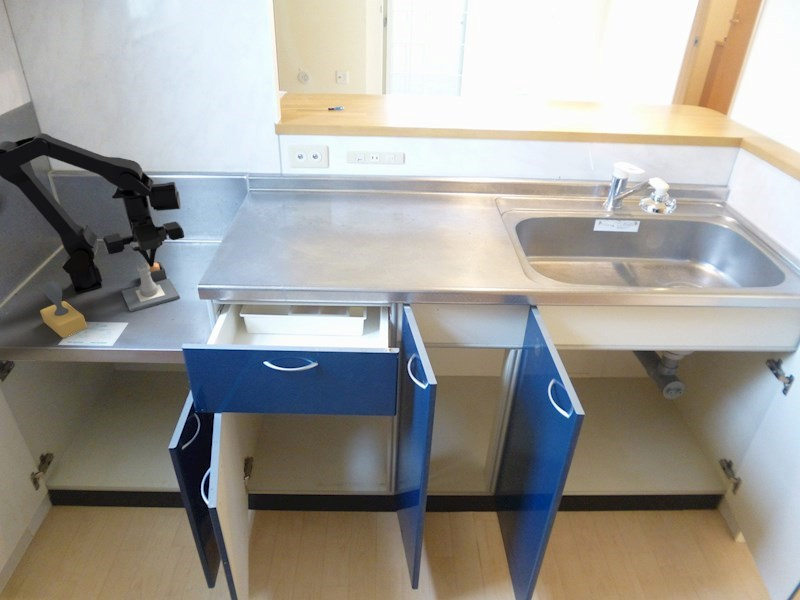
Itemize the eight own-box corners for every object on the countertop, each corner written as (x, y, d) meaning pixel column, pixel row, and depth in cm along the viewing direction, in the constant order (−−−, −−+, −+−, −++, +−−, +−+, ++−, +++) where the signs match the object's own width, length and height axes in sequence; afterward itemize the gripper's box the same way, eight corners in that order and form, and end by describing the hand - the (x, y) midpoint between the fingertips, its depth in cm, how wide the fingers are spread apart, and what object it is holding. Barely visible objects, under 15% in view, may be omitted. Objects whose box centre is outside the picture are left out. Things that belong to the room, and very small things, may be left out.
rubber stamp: (88, 328, 133) (73, 284, 126) (62, 339, 129) (45, 294, 122) (69, 312, 138) (53, 270, 132) (44, 322, 134) (27, 279, 128)
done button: (148, 278, 150) (146, 270, 148) (145, 272, 152) (143, 264, 151) (162, 274, 151) (160, 266, 150) (159, 269, 154) (157, 261, 153)
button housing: (146, 284, 150) (144, 274, 148) (142, 275, 153) (139, 266, 152) (167, 279, 152) (164, 269, 150) (162, 271, 156) (159, 261, 154)
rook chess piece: (140, 298, 142) (133, 271, 138) (139, 290, 145) (132, 263, 141) (159, 295, 144) (152, 267, 139) (158, 286, 147) (151, 259, 143)
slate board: (130, 311, 139) (129, 308, 138) (122, 293, 146) (121, 290, 145) (180, 298, 144) (179, 295, 144) (169, 281, 151) (169, 278, 151)
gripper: (103, 232, 132) (120, 288, 141) (184, 215, 141) (195, 269, 149) (95, 215, 140) (111, 269, 148) (172, 200, 149) (183, 252, 157)
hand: (151, 265), depth 151 cm, fingers closed, pressing on done button
